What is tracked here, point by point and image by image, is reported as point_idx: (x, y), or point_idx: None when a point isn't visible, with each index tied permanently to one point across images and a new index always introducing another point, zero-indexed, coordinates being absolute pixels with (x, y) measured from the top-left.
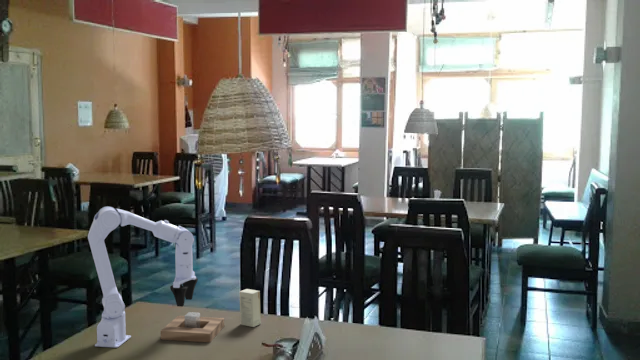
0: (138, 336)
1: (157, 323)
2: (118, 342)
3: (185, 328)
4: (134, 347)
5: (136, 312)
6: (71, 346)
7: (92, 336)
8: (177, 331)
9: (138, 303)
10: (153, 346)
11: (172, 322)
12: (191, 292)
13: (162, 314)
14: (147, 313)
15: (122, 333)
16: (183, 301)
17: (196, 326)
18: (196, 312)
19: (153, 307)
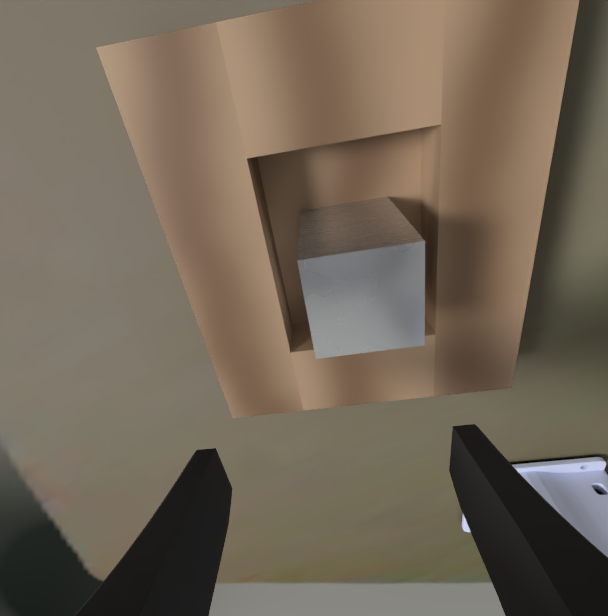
0: None
1: (276, 457)
2: (571, 476)
3: (455, 268)
4: (596, 406)
5: None
6: None
7: (470, 555)
8: (522, 291)
9: None
10: (589, 339)
11: (355, 394)
12: (184, 535)
13: (165, 486)
14: None
15: (562, 506)
16: (519, 473)
17: (390, 211)
18: (306, 293)
19: (116, 539)
